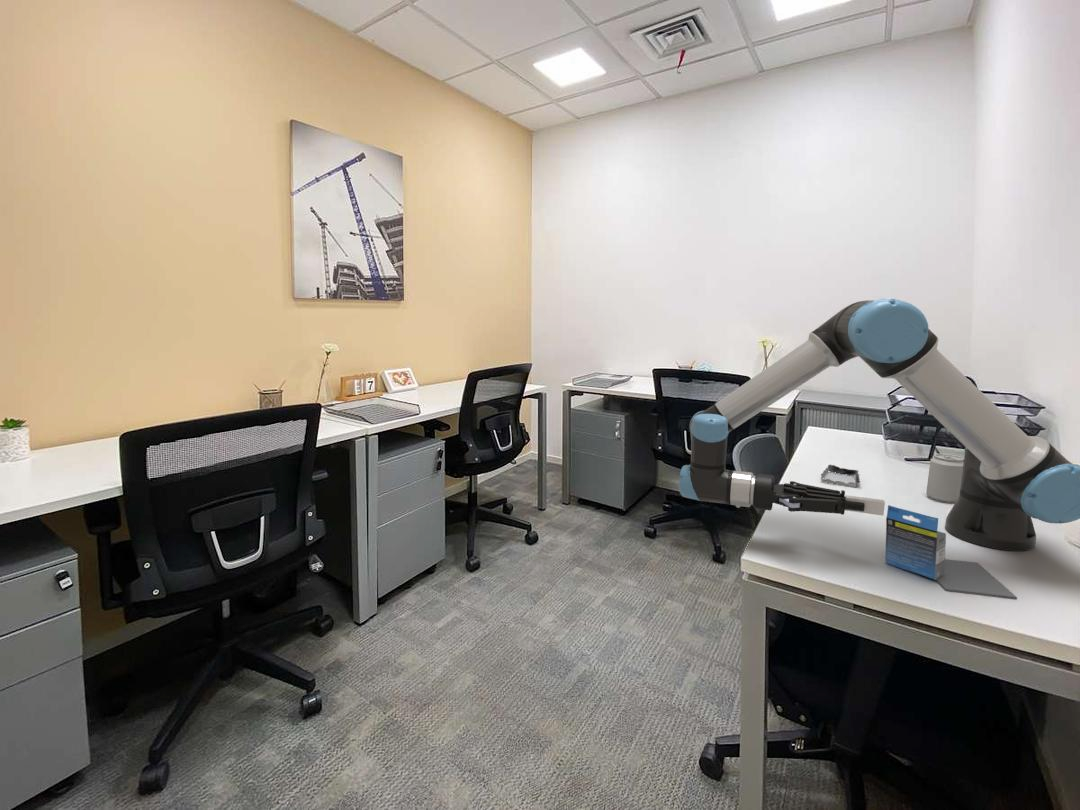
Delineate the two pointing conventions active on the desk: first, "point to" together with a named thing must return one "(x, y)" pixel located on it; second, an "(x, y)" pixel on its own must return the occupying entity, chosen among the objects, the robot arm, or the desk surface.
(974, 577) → the felt mat
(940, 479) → the can
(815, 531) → the desk surface
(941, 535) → the label tape box
